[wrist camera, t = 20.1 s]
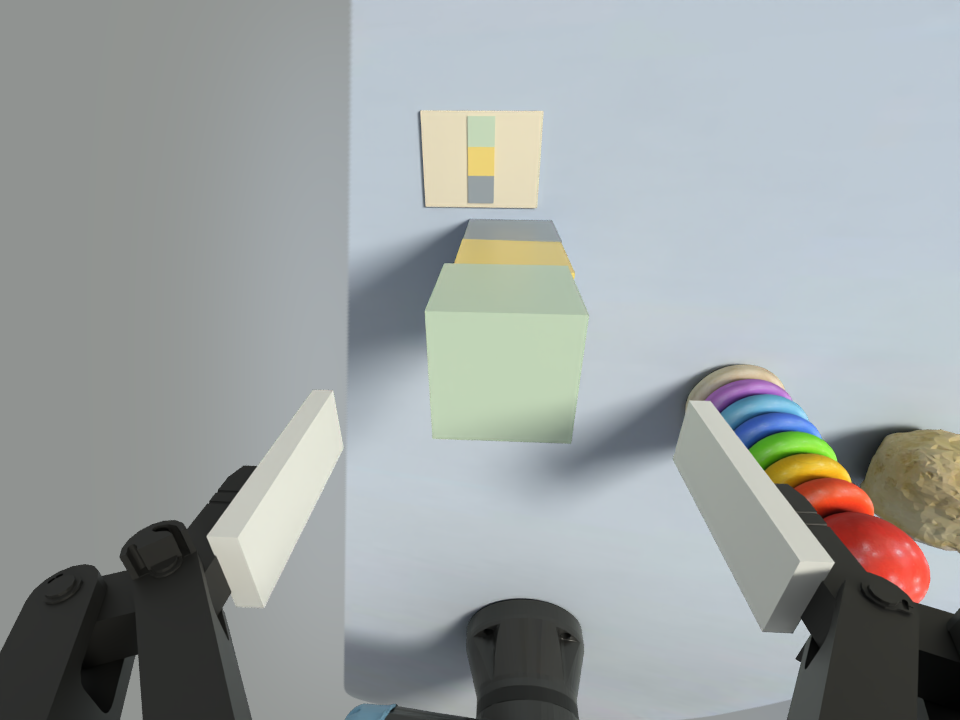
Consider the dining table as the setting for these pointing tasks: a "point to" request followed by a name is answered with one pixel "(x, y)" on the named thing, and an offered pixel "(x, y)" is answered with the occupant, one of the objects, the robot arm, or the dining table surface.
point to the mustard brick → (512, 253)
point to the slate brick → (512, 230)
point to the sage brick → (505, 352)
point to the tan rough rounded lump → (918, 485)
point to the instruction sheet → (481, 158)
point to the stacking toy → (811, 471)
